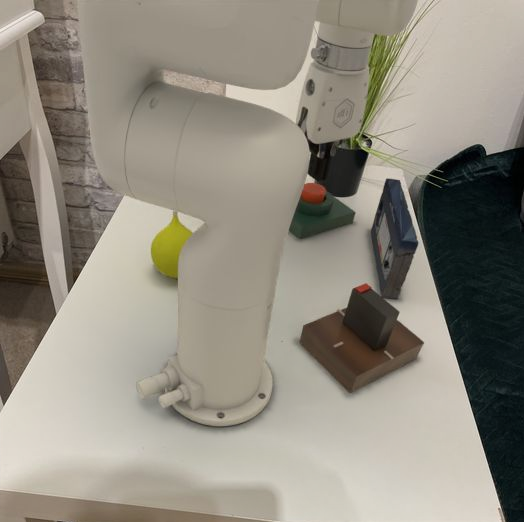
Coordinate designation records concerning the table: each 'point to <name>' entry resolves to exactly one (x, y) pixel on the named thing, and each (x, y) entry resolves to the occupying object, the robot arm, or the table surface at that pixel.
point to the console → (357, 350)
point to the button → (313, 193)
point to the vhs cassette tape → (393, 239)
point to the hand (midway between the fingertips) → (316, 176)
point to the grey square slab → (370, 316)
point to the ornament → (169, 247)
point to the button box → (320, 216)
